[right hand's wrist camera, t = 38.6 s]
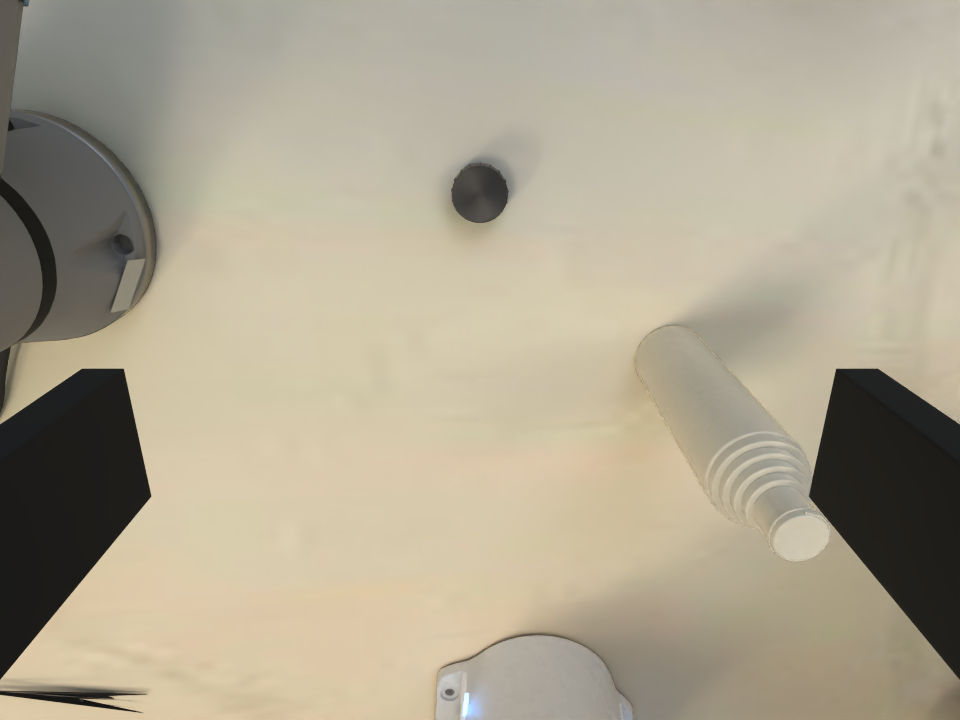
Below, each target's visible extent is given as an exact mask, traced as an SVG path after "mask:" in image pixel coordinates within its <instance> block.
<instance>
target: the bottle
mask: <svg viewBox="0 0 960 720" xmlns="http://www.w3.org/2000/svg"><path fill="white" fill-rule="evenodd" d="M635 369H636V372H637V374H638V377H639V378H640V380H641V382H642V384H643V385H644V387H645V389H646V391H647V392H648V394H649V396H650V398H651V399H652V401H653V403H654V405H655V406H656V408H657V410H658V412H659V413H660V415H661V417H662V419H663V420H664V422H665V424H666V426H667V427H668V429H669V431H670V433H671V435H672V436H673V438H674V440H675V442H676V443H677V445H678V447H679V449H680V450H681V452H682V454H683V456H684V457H685V459H686V461H687V463H688V464H689V466H690V468H691V470H692V471H693V473H694V475H695V477H696V478H697V480H698V482H699V484H700V485H701V487H702V489H703V491H704V493H705V494H706V496H707V498H708V499H709V501H710V503H711V504H712V505H713V506H714V507H715V508H716V509H717V510H718V511H719V512H721V513H722V514H723V515H724V516H725V517H726V518H728V519H730V520H731V521H734V522H736V523H739V524H742V525H744V526H747V527H749V528H751V529H754V530H757V531H759V532H762V533H763V534H764V535H765V537H766V538H767V541H768V544H769V547H770V548H771V549H772V551H773V552H774V553H775V554H776V555H778V556H779V557H781V558H783V559H785V560H788V561H793V562H800V561H806V560H809V559H811V558H813V557H815V556H817V555H818V554H820V553H821V552H822V551H823V550H824V549H825V547H826V546H827V544H828V541H829V538H830V531H831V529H830V526H829V523H828V522H827V521H826V519H825V518H824V517H823V516H822V514H821V513H819V512H818V511H817V510H815V509H814V508H813V507H812V505H811V499H810V497H809V493H810V488H811V482H812V472H811V467H810V464H809V462H808V460H807V457H806V454H805V452H804V451H803V449H802V448H801V446H800V445H799V444H798V443H797V442H796V441H795V440H794V438H793V437H792V436H791V435H790V434H789V433H788V432H787V431H786V430H785V429H784V428H783V427H782V425H781V424H780V423H779V422H778V421H777V420H776V419H775V418H774V417H773V416H772V415H771V414H770V412H769V411H768V410H767V409H766V408H765V407H764V406H763V405H762V404H761V403H760V402H759V400H758V399H757V398H756V397H755V396H754V395H753V394H752V393H751V392H750V391H749V390H748V389H747V387H746V386H745V385H744V384H743V383H742V382H741V381H740V380H739V379H738V378H737V377H736V375H735V374H734V373H733V372H732V371H731V370H730V369H729V368H728V367H727V366H726V365H725V364H724V362H723V361H722V360H721V359H720V358H719V357H718V356H717V355H716V354H715V353H714V352H713V351H712V349H711V348H710V347H709V346H708V345H707V344H706V343H705V342H704V341H703V340H702V339H701V337H700V336H699V335H698V334H697V333H695V332H694V331H692V330H691V329H689V328H686V327H683V326H666V327H662V328H659V329H657V330H655V331H653V332H652V333H650V334H649V335H648V336H647V337H646V338H645V339H644V340H643V341H642V342H641V344H640V345H639V347H638V349H637V352H636V355H635Z"/></svg>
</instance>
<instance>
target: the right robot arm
mask: <svg viewBox="0 0 960 720" xmlns="http://www.w3.org/2000/svg"><path fill="white" fill-rule="evenodd" d="M28 4H29V0H0V412H1V409H2V406H3V401H4V394H5V379H6V371H7V365H8V359H9V354H10V348H11V346H12V345H14V344H16V343H27V342H41V341H56V340H67V339H72V338H78V337H82V336H86V335H89V334H92V333H94V332H97V331H99V330H101V329H103V328H105V327H106V326H108V325H110V324H111V323H113V322H115V321H116V320H118V319H119V318H121V317H122V316H124V315H125V314H126V313H127V312H129V311H130V310H131V309H132V308H133V307H134V306H135V305H136V304H137V302H138V301H139V300H140V298H141V297H142V296H143V294H144V292H145V290H146V289H147V287H148V284H149V282H150V280H151V277H152V273H153V270H154V265H155V258H156V237H155V230H154V225H153V220H152V216H151V213H150V210H149V207H148V205H147V202H146V200H145V198H144V195H143V193H142V192H141V190H140V188H139V186H138V184H137V183H136V181H135V180H134V178H133V176H132V175H131V173H130V172H129V171H128V170H127V168H126V167H125V166H124V164H123V163H122V162H121V161H120V160H119V159H118V158H117V157H116V156H115V154H113V153H112V152H111V151H110V150H109V149H108V148H107V147H106V146H105V145H104V144H102V143H101V142H100V141H99V140H97V139H96V138H95V137H93V136H92V135H90V134H89V133H87V132H86V131H84V130H82V129H81V128H79V127H77V126H75V125H73V124H71V123H69V122H67V121H65V120H62V119H60V118H57V117H54V116H51V115H47V114H43V113H39V112H34V111H27V110H10V108H11V100H12V92H13V84H14V76H15V68H16V60H17V52H18V44H19V36H20V28H21V20H22V12H23V6H28ZM150 497H151V493H150V488H149V483H148V479H147V474H146V470H145V465H144V460H143V456H142V451H141V446H140V442H139V437H138V433H137V428H136V423H135V419H134V414H133V409H132V405H131V400H130V396H129V391H128V386H127V382H126V377H125V372H124V369H81V370H80V371H78V372H77V373H75V374H74V375H72V376H71V377H69V378H68V379H66V380H65V381H63V382H62V383H61V384H59V385H58V386H56V387H55V388H53V389H52V390H50V391H49V392H47V393H46V394H44V395H43V396H41V397H40V398H38V399H37V400H36V401H34V402H33V403H31V404H30V405H28V406H27V407H25V408H24V409H22V410H21V411H19V412H18V413H16V414H15V415H14V416H12V417H11V418H9V419H8V420H6V421H5V422H3V423H2V424H0V679H1V678H2V677H3V676H4V674H5V673H6V672H7V671H8V670H9V668H10V667H11V666H12V665H13V663H14V662H15V661H16V660H17V659H18V657H19V656H20V655H21V654H22V653H23V651H24V650H25V649H26V648H27V647H28V645H29V644H30V643H31V642H32V640H33V639H34V638H35V637H36V636H37V634H38V633H39V632H40V631H41V630H42V628H43V627H44V626H45V625H46V623H47V622H48V621H49V620H50V619H51V617H52V616H53V615H54V614H55V613H56V611H57V610H58V609H59V608H60V607H61V605H62V604H63V603H64V602H65V600H66V599H67V598H68V597H69V596H70V594H71V593H72V592H73V591H74V590H75V588H76V587H77V586H78V585H79V583H80V582H81V581H82V580H83V579H84V577H85V576H86V575H87V574H88V573H89V571H90V570H91V569H92V568H93V567H94V565H95V564H96V563H97V562H98V560H99V559H100V558H101V557H102V556H103V554H104V553H105V552H106V551H107V550H108V548H109V547H110V546H111V545H112V543H113V542H114V541H115V540H116V539H117V537H118V536H119V535H120V534H121V533H122V531H123V530H124V529H125V528H126V526H127V525H128V524H129V523H130V522H131V520H132V519H133V518H134V517H135V516H136V514H137V513H138V512H139V511H140V510H141V508H142V507H143V506H144V505H145V503H146V502H147V501H148V500H149V499H150ZM809 497H810V499H811V500H812V501H813V502H814V503H815V505H816V506H817V507H818V508H819V510H820V511H821V512H822V513H823V514H824V516H825V517H826V518H827V519H828V520H829V522H830V523H831V524H832V525H833V526H834V528H835V529H836V530H837V531H838V533H839V534H840V535H841V536H842V537H843V539H844V540H845V541H846V542H847V543H848V545H849V546H850V547H851V548H852V550H853V551H854V552H855V553H856V554H857V556H858V557H859V558H860V559H861V560H862V562H863V563H864V564H865V565H866V567H867V568H868V569H869V570H870V571H871V573H872V574H873V575H874V576H875V577H876V579H877V580H878V581H879V582H880V583H881V585H882V586H883V587H884V588H885V590H886V591H887V592H888V593H889V594H890V596H891V597H892V598H893V599H894V600H895V602H896V603H897V604H898V605H899V607H900V608H901V609H902V610H903V611H904V613H905V614H906V615H907V616H908V617H909V619H910V620H911V621H912V622H913V623H914V625H915V626H916V627H917V628H918V630H919V631H920V632H921V633H922V634H923V636H924V637H925V638H926V639H927V640H928V642H929V643H930V644H931V645H932V647H933V648H934V649H935V650H936V651H937V653H938V654H939V655H940V656H941V657H942V659H943V660H944V661H945V662H946V663H947V665H948V666H949V667H950V668H951V670H952V671H953V672H954V673H955V674H956V676H957V677H958V678H959V679H960V424H958V423H957V422H955V421H954V420H952V419H951V418H949V417H948V416H946V415H945V414H944V413H942V412H941V411H939V410H938V409H936V408H935V407H933V406H932V405H930V404H929V403H927V402H926V401H924V400H923V399H922V398H920V397H919V396H917V395H916V394H914V393H913V392H911V391H910V390H908V389H907V388H905V387H904V386H902V385H901V384H899V383H898V382H897V381H895V380H894V379H892V378H891V377H889V376H888V375H886V374H885V373H883V372H882V371H880V370H879V369H836V372H835V377H834V382H833V386H832V391H831V396H830V400H829V405H828V409H827V414H826V419H825V423H824V428H823V433H822V437H821V442H820V446H819V451H818V456H817V460H816V465H815V470H814V474H813V479H812V483H811V488H810V493H809Z"/></svg>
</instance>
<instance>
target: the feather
mask: <svg viewBox="0 0 960 720" xmlns="http://www.w3.org/2000/svg"><path fill="white" fill-rule="evenodd" d="M0 695H6V696H14V697H22V698H30V699H38V700H45V701H53V702H61V703H69V704H77V705H85V706H93V707H100V708H108V709H116V710H124V711H132V712H137V711H134V710H128V709H124V708H119V707H115V706H114V705H112V706H110V705H106V704H101V703H97V702H92V701H88V700H83V699H98V698H107V699H110V700H114V698H112V697H109V696H117V695H142V696H144V695H145V694H129V693H84V692H36V691H0ZM133 698H134V697H133ZM128 701H129V700H128ZM121 707H122V706H121ZM131 708H132V707H131ZM140 713H142V712H140Z"/></svg>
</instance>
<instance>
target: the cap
mask: <svg viewBox="0 0 960 720" xmlns="http://www.w3.org/2000/svg"><path fill="white" fill-rule="evenodd" d="M454 181H455V182H454V185H453V188H452V190H451V191H452V202H453V204H454V206H455V208H456V210H457V211H458V213H459V214H460V215H461V216H462V217H464V218H465V219H467V220H469V221H471V222H476V223H484V222H488V221H491V220H493V219H495V218H496V217H497V216H499V214H500V213H501V212H502V211H503V209H504V208H505V205H506V203H507V198H508V189H507V186H506V180H505V179H504V178H503V176H502V175H501V173H500V171H499V170H497V169H495V168H494V167H492V166H491V165H488V164H482V163H481V162H480V163H477V164H472V165H471V164H470V165H469V166H467V167H466V168H464V169H463V170H462V169H461V171H460V173H459V174H458V176H457V177H456V178H455V179H454Z"/></svg>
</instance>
